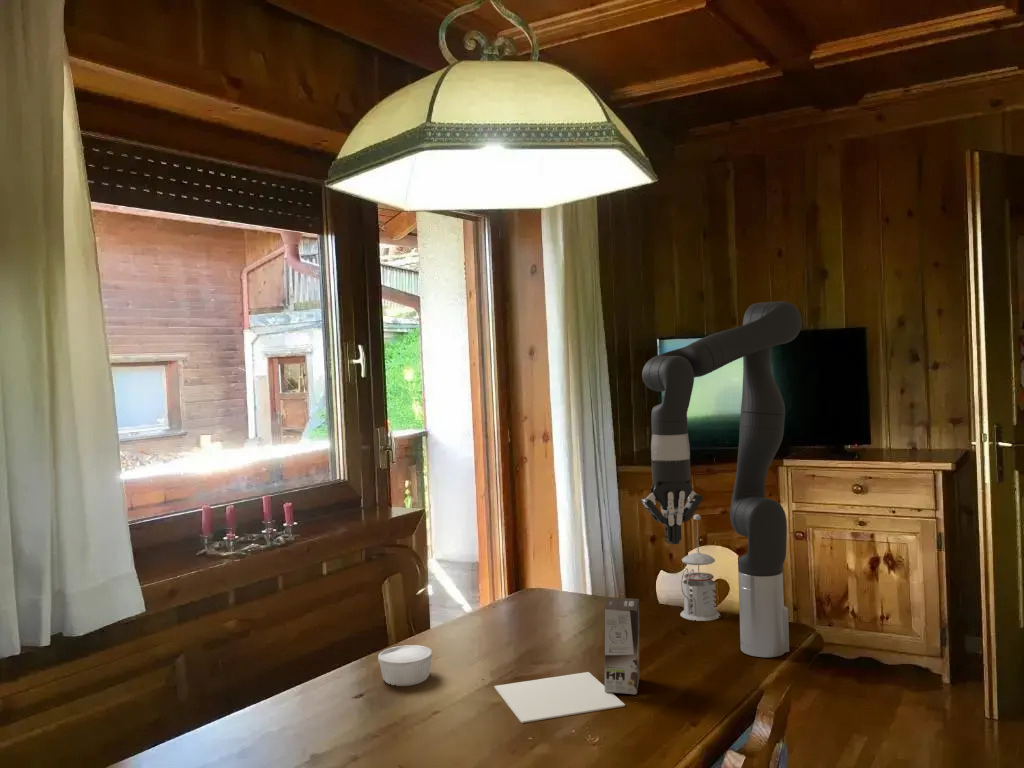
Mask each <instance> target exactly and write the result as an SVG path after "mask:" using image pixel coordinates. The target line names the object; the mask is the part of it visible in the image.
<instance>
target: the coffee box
mask: <svg viewBox="0 0 1024 768" xmlns="http://www.w3.org/2000/svg"><path fill="white" fill-rule="evenodd" d="M639 680H640V599H639V598H625V597H624V598H623V597H622V598H621V597H619V598H617V597H616V598H614V597H612V598H611V597H608V599H607V601H606V604H605V608H604V686H605V692H612V693H613V694H626V695H637V694H638V688H639V682H640V681H639Z"/></svg>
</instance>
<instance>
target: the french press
mask: <svg viewBox="0 0 1024 768" xmlns="http://www.w3.org/2000/svg"><path fill="white" fill-rule="evenodd" d="M692 517H693V520H696V538H697V541H696V542H697V543H699V520H702V517H701V515H700V514H697V513H696V514H693V515H692ZM699 550H700V549H699V545H697V552H696V553H695V552H694V553H690V554H687V555H685V556H684V557H683V558H681V561H682V563H683V564H685V565H689V566H697V567H698V569H697V570H698V571H697V572H695V570H694V568H692V569H691V570H690V571H689V569H688V568H685V569H684V570H683V572H682V575H681V582H680V585H681V587H680V588H681V592H682V595H683V610H682V611H681V612H680V617H682V618H683V619H686V620H688V621H695V620H696V621H698V622H700V621H701V622H703V621H704V622H706V621H707V622H708V621H715V620H717V619H719V618H720V617H721V614H720V612H719V611H718V610H717V608H716V606H717V603H716V602H717V598H715V597H716V596H717V595H716V594H717V593H715V592H716V581H715V580H713V579H714V575H713V574H712V573H708V572H701V571H700V566H704V565H705V566H707V565H712V564H713V563H715V562H716V559H715V558H714V557H713V556H711V555H709V554H706V553H702V552H699ZM685 572H687V573H686V574H685ZM683 578H685V579H684V580H683ZM719 616H720V617H719Z"/></svg>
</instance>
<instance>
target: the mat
mask: <svg viewBox="0 0 1024 768" xmlns="http://www.w3.org/2000/svg"><path fill="white" fill-rule="evenodd" d="M493 687H494V689H495V690H496V692H497V693H498V694H499V695H500V696H501V698H502V699H503V701H504V702H505V704H506V705H507V706H508V708H509V709H510V710H511V711H512V712H513V714H514V715H515V716H516V718H517V720H519V722H520V723H521V724H524V723H531V722H537V721H542V720H549V719H555V718H561V717H568V716H573V715H580V714H584V713H585V714H586V713H592V712H598V711H603V710H609V709H616V708H623V707H625V706H626V704H625V703H624V702H623V701H622V700H620V698H618V697H617V696H616V695H615V693H612V692H605V684H603V683H602V682H601V681H599V679H597V678H596V677H595V676H593V674H592V673H590V672H589V671H586V672H578V673H571V674H566V675H560V676H558V675H557V676H553V677H551V676H550V677H544V678H539V679H533V680H526V681H525V680H524V681H519V682H511V683H506V684H499V685H494V686H493Z"/></svg>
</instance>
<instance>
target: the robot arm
mask: <svg viewBox="0 0 1024 768" xmlns="http://www.w3.org/2000/svg"><path fill="white" fill-rule="evenodd" d="M742 318H743V320H742V325H741V326H736V327H732V328H729V329H726V330H722V331H718V332H715V333H711V334H709V335H707V336H705V337H702V338H700V339H697V340H696V341H693V342H691V343H689V344H688V345H686V346H683V347H681V348H676V349H673V350H669V351H667V352H664V353H661V354H657V355H655V356H653V357H651V358H650V359H649V360H648V361H647V362H645V364H644V365H643V368H642V373H641V377H642V381H643V383H644V384H645V387H647V388H648V389H650V390H652V391H655V392H664V393H663V399H662V402H661V403H660V404H657V405H654V406H653V407H652V409H651V418H650V419H651V420H650V421H651V422H650V423H651V442H650V451H651V452H650V453H651V454H650V455H651V457H650V458H651V479H652V486H651V488H650V493H649V494H648V495H647V496H646V498H645V497H642V498H641V500H640V503H641V504H642V506H643V507H644V508H645V509H646V511H648V513H649V514H650V516H651V517H652V518H653V520H654V521H656V522H657V523H660V524H663V525H664V539H665V541H667V543H668V544H670V545H679V544H680V542H681V541H682V524H684V523H685V522H689V521H690V520H691V519H692V517H693V516H694V515H695V514H694V513H695V512H696V511H697V509H698V507H699V506H700V504H701V503H702V501H703V498H704V496H703V495H701V494H698V493H696V492H695V491H694V490H693V487H692V485H691V450H690V439H689V433H688V431H689V430H688V411H689V407H690V402H691V397H692V394H693V388H694V382H695V378H699V377H704V376H705V375H708V374H710V373H712V372H714V371H716V370H719V369H721V368H722V367H725V366H726V365H728V364H731V363H733V362H734V361H736V360H739V359H741V358H742V360H743V361H742V363H743V364H742V366H743V368H742V369H743V371H742V372H743V373H742V390H741V391H742V395H741V396H742V397H741V405H740V414H739V415H740V416H739V417H740V418H739V419H740V420H739V437H738V448H737V449H738V450H737V460H736V461H737V463H736V474H735V480H734V485H733V490H732V491H733V492H732V495H731V496H732V497H731V503H730V509H729V519H730V523H731V527H732V529H733V530H734V531H735V533H737V534H738V535H740V536H742V537H745V538H747V540H748V541H747V552H746V553H745V554H743V555H741V556H740V557H739V558H738V560H737V570H738V571H737V573H738V575H737V576H738V578H737V579H738V580H737V581H738V604H739V606H738V607H739V634H740V635H739V636H740V637H739V639H740V640H739V642H740V651H741V652H742V653H744V654H746V655H748V656H752V657H758V658H775V657H776V658H777V657H780V656H783V655H784V654H785V653H788V652H790V638H789V637H790V635H789V634H790V633H789V631H790V630H789V609H788V607H787V606H785V604H784V603H785V602H784V600H785V599H784V598H785V597H784V573H783V572H784V571H783V570H784V569H783V568H784V563H785V560H786V557H787V538H788V537H787V534H788V525H787V517H786V513H785V510H784V508H783V506H782V505H781V503H780V502H778V501H777V500H774V499H770V498H767V497H766V483H767V476H768V471H769V468H770V466H771V464H772V461H773V460H774V458H775V456H776V454H777V452H778V450H779V448H780V447H781V444H782V442H783V438H784V433H785V419H786V418H785V417H786V407H785V401H784V398H783V396H782V393H781V391H780V389H779V386H778V385H777V382H776V380H775V378H774V375H773V373H772V368H771V348H772V347H776V346H779V345H783V344H784V345H785V344H788V343H790V342H793V341H794V340H795V339H796V338H797V337H798V335H799V334H800V331H801V329H802V323H803V321H802V315H801V312H800V310H799V308H798V307H797V306H796V305H794V304H793V303H791V302H787V301H783V300H782V301H766V302H763V301H762V302H756V303H753V304H752V303H751V305H749V307H748V308H747V309H746V310H745V312H744V316H743V317H742ZM657 503H658V504H659V506H660V509H658V507H657Z"/></svg>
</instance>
